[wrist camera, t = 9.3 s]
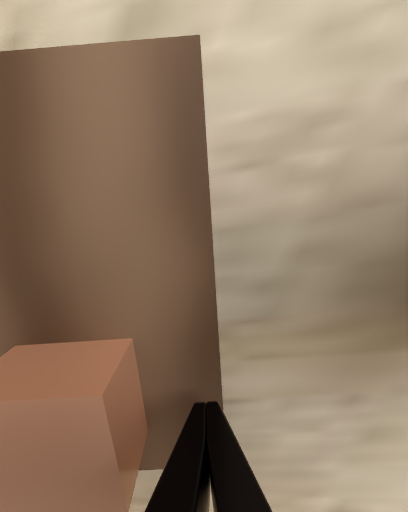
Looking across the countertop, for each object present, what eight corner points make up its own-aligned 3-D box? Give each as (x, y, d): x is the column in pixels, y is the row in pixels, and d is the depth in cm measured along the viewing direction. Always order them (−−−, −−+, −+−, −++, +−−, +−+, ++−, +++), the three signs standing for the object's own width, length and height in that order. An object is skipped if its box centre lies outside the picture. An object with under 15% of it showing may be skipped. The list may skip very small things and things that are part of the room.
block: (132, 338, 8) (102, 395, 6) (148, 430, 9) (128, 512, 7) (15, 345, 8) (-65, 405, 6) (44, 436, 9) (-13, 519, 7)
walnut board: (200, 84, 8) (200, 35, 6) (221, 412, 12) (226, 465, 10) (-102, 108, 8) (-224, 70, 6) (11, 425, 12) (-36, 480, 10)
